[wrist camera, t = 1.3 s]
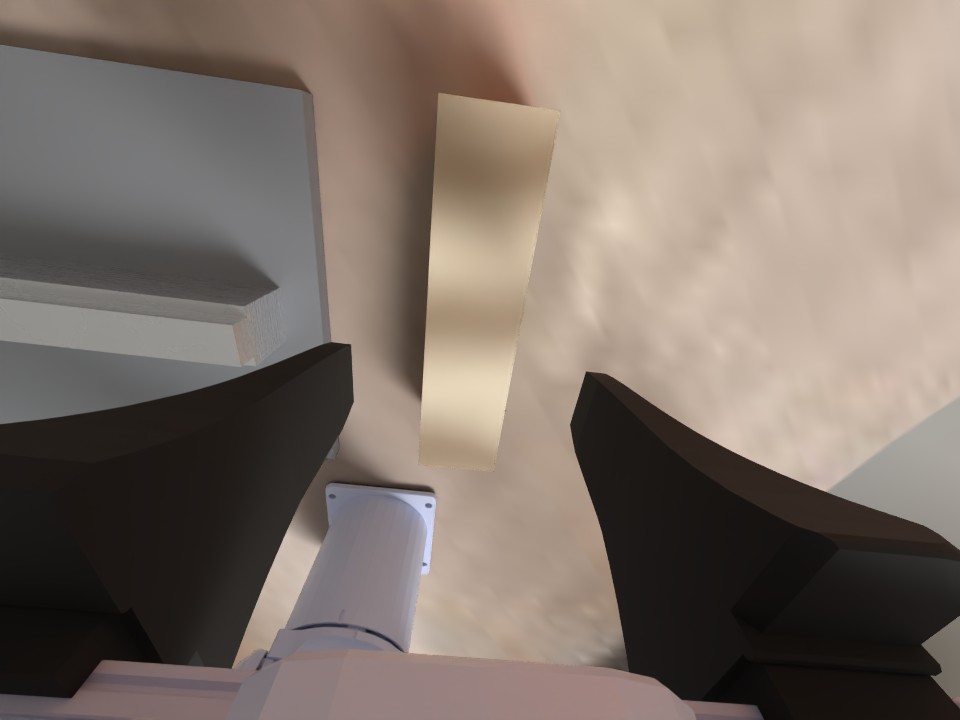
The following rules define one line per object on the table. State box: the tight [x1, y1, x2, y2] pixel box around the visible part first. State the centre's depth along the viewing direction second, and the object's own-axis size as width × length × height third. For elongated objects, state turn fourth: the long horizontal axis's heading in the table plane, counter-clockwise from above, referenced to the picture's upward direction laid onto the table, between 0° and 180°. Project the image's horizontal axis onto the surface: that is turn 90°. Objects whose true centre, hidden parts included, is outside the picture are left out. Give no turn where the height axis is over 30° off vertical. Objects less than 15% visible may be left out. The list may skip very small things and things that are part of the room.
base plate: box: [0, 45, 339, 460], centre depth 19 cm, size 20×22×1 cm
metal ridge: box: [0, 253, 287, 367], centre depth 17 cm, size 3×18×4 cm, turn 83°
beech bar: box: [418, 93, 560, 472], centre depth 17 cm, size 16×4×5 cm, turn 173°
